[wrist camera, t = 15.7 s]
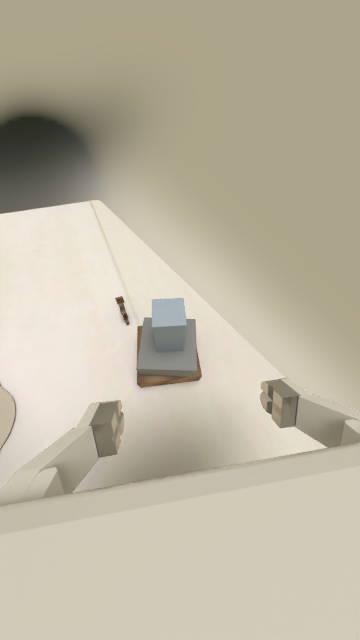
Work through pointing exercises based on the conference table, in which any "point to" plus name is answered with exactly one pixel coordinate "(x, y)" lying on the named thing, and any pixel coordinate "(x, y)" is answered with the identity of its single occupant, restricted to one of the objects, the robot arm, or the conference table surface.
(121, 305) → the wooden post with brackets
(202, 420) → the conference table surface
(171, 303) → the slate blue block
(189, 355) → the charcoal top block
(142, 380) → the walnut base block
